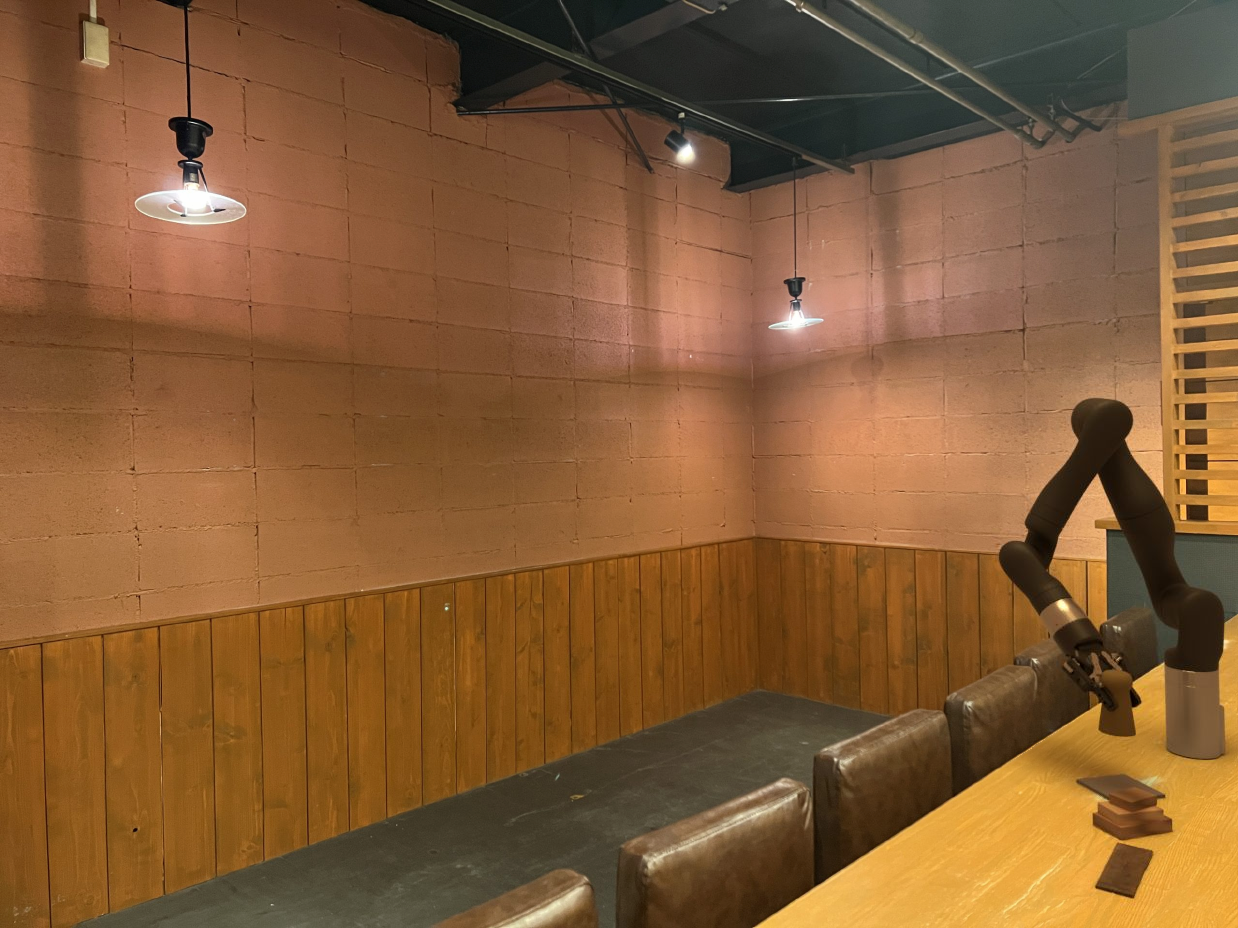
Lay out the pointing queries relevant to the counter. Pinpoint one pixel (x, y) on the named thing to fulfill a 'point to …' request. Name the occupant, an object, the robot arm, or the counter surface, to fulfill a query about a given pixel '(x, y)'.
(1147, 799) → the offcut stack
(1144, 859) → the wooden plank
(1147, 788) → the slate coaster
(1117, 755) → the counter surface
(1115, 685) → the cork
